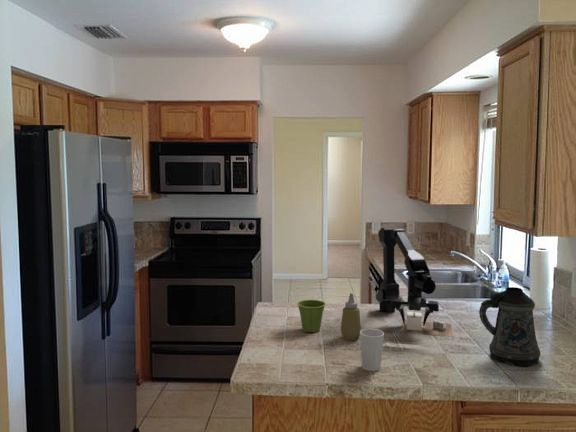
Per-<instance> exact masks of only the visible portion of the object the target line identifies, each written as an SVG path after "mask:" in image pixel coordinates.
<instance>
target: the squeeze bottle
mask: <svg viewBox="0 0 576 432" xmlns="http://www.w3.org/2000/svg"><path fill="white" fill-rule="evenodd" d="M344 304H345V305H344V306H345V307H343V308H342V316H341V323H340V333H341V335H342V338H343V339H344V340H346V341H351V342H352V341H358V339H360V331H361V330H362V325H361V323H362V322H361V313H360V308H359V307H358V302H356V301H355V296H354V293H353V292H352V293H351V292H350V293H349V297H348V299H347V301H345V303H344Z"/></svg>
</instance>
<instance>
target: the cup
mask: <svg viewBox="0 0 576 432" xmlns="http://www.w3.org/2000/svg"><path fill="white" fill-rule="evenodd" d="M384 337H385V332H384V331H382V330H380V329H376V328H364V329H361V331H360V335H359V339H360V353H361V354H360V355H361V368H362V369H363V370H364V371H367V372H377V371H380V370H381V368H382V364H381V363H382V354H383V344H384Z"/></svg>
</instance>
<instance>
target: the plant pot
mask: <svg viewBox="0 0 576 432" xmlns="http://www.w3.org/2000/svg"><path fill="white" fill-rule="evenodd" d="M296 305H297V307H298V311H299V315H300V321H301V327H302V330H303V331H304V332H305V333H317V332H319V331H320V330H321V326H322V320H323V315H324V311H325V306H326V305H327V303H326V302H325V301H323V300H318V299H304V300H303V299H302V300H298V301H297V303H296Z"/></svg>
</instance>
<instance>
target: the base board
mask: <svg viewBox="0 0 576 432" xmlns="http://www.w3.org/2000/svg"><path fill="white" fill-rule="evenodd" d="M400 327H401V328H400V333H404V334H418V335H429V336H441V337H453V338H454V332H453V328H452V324H451V323H446V330H444V331H441V330H437V329H433V321H431V322H429V321H426V323H425V325H424V326H423V321H422V326H421V330H408V329H407V319H405V325H404V323H403V320H402V319H401V325H400Z"/></svg>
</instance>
